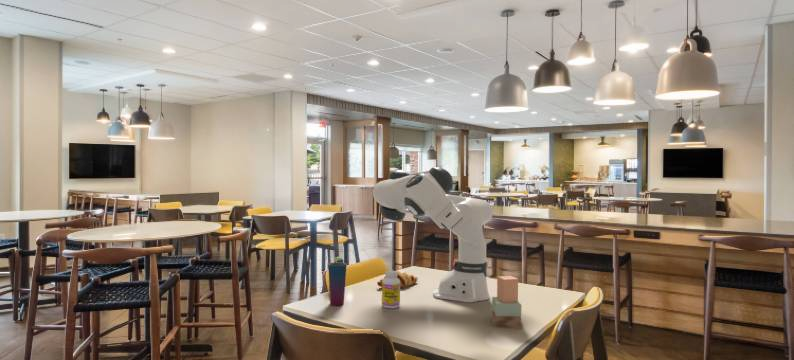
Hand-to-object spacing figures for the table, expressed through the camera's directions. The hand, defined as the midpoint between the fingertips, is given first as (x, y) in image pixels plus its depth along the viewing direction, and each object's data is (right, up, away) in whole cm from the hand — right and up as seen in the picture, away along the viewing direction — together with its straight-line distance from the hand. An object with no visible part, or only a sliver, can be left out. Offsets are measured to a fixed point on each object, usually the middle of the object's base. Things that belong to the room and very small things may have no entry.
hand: (475, 246), depth 144 cm
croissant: (-25, -25, +51) cm, 62 cm away
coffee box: (-50, -25, +44) cm, 71 cm away
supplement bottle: (-28, -26, +21) cm, 43 cm away
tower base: (+11, -27, +5) cm, 29 cm away
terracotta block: (+11, -19, +5) cm, 22 cm away
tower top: (+11, -23, +5) cm, 26 cm away
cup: (-48, -25, +23) cm, 59 cm away
